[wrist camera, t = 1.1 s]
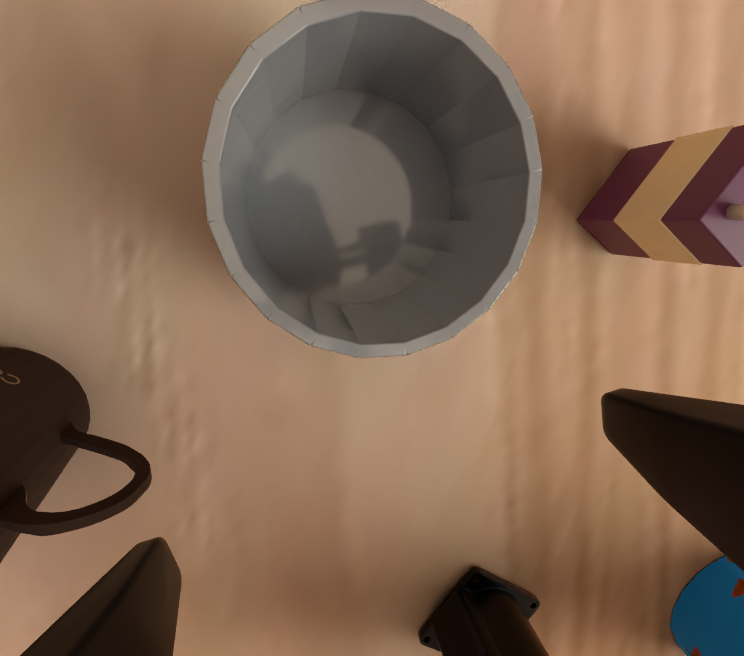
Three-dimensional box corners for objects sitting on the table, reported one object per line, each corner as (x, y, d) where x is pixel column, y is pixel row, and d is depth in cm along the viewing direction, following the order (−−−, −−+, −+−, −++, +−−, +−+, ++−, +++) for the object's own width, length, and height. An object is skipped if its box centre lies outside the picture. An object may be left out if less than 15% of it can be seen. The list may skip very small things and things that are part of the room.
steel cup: (494, 182, 21) (601, 161, 13) (374, 348, 22) (414, 410, 15) (323, 25, 17) (343, -110, 10) (192, 229, 18) (129, 234, 11)
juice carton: (666, 186, 22) (917, 162, 13) (612, 255, 23) (819, 278, 14) (630, 147, 21) (875, 92, 12) (574, 220, 22) (771, 219, 13)
